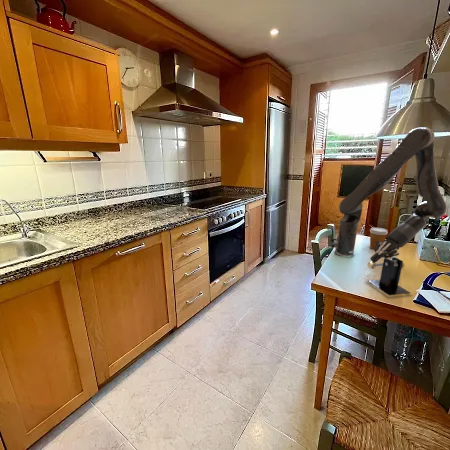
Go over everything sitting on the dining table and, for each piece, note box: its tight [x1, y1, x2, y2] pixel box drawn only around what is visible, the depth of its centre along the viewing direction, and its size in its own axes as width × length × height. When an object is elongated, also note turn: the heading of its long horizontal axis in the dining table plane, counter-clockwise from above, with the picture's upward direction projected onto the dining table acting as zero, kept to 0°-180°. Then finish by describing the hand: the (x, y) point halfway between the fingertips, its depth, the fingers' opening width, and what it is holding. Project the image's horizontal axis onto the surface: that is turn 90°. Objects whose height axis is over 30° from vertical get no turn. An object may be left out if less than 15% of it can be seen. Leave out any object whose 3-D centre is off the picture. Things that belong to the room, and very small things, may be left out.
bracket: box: [368, 257, 411, 296], centre depth 103 cm, size 12×10×14 cm
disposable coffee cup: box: [369, 227, 389, 250], centre depth 149 cm, size 10×10×12 cm
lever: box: [367, 260, 398, 270], centre depth 108 cm, size 15×4×4 cm, turn 10°
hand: (372, 260), depth 113 cm, fingers closed
